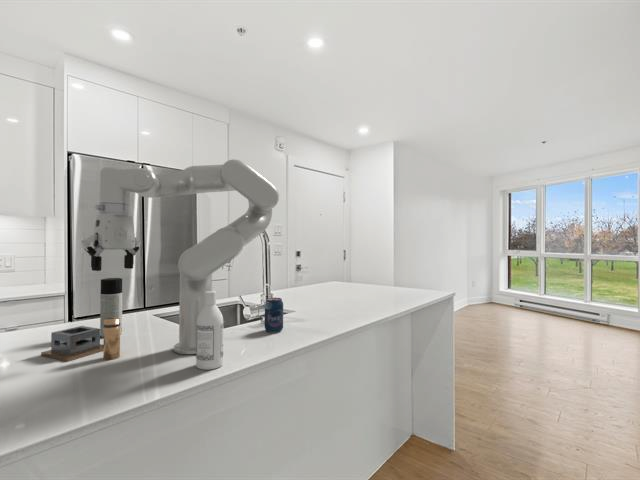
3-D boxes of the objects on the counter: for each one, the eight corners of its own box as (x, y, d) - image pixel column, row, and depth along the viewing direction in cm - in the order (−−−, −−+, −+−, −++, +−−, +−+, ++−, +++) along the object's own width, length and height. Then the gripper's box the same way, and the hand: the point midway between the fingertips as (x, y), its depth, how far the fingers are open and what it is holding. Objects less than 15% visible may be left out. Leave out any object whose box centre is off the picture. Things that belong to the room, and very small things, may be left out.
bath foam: (213, 359, 97) (214, 289, 97) (228, 365, 92) (228, 291, 92) (191, 366, 91) (191, 291, 91) (205, 372, 87) (205, 294, 87)
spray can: (126, 332, 124) (126, 277, 124) (113, 338, 117) (113, 279, 117) (109, 332, 124) (109, 277, 124) (95, 337, 118) (95, 279, 118)
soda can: (268, 334, 123) (268, 301, 123) (261, 329, 129) (262, 298, 129) (286, 331, 126) (286, 299, 126) (278, 327, 132) (278, 296, 132)
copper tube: (123, 356, 99) (123, 318, 99) (109, 360, 95) (110, 321, 95) (113, 354, 100) (113, 317, 100) (99, 358, 96) (100, 320, 96)
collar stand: (108, 349, 105) (109, 328, 105) (67, 361, 94) (67, 338, 94) (83, 344, 110) (83, 324, 110) (41, 355, 99) (41, 333, 99)
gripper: (92, 207, 89) (90, 272, 89) (149, 213, 105) (148, 268, 105) (74, 208, 93) (73, 270, 92) (132, 213, 108) (131, 267, 108)
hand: (113, 269), depth 99 cm, fingers open, 9 cm apart
